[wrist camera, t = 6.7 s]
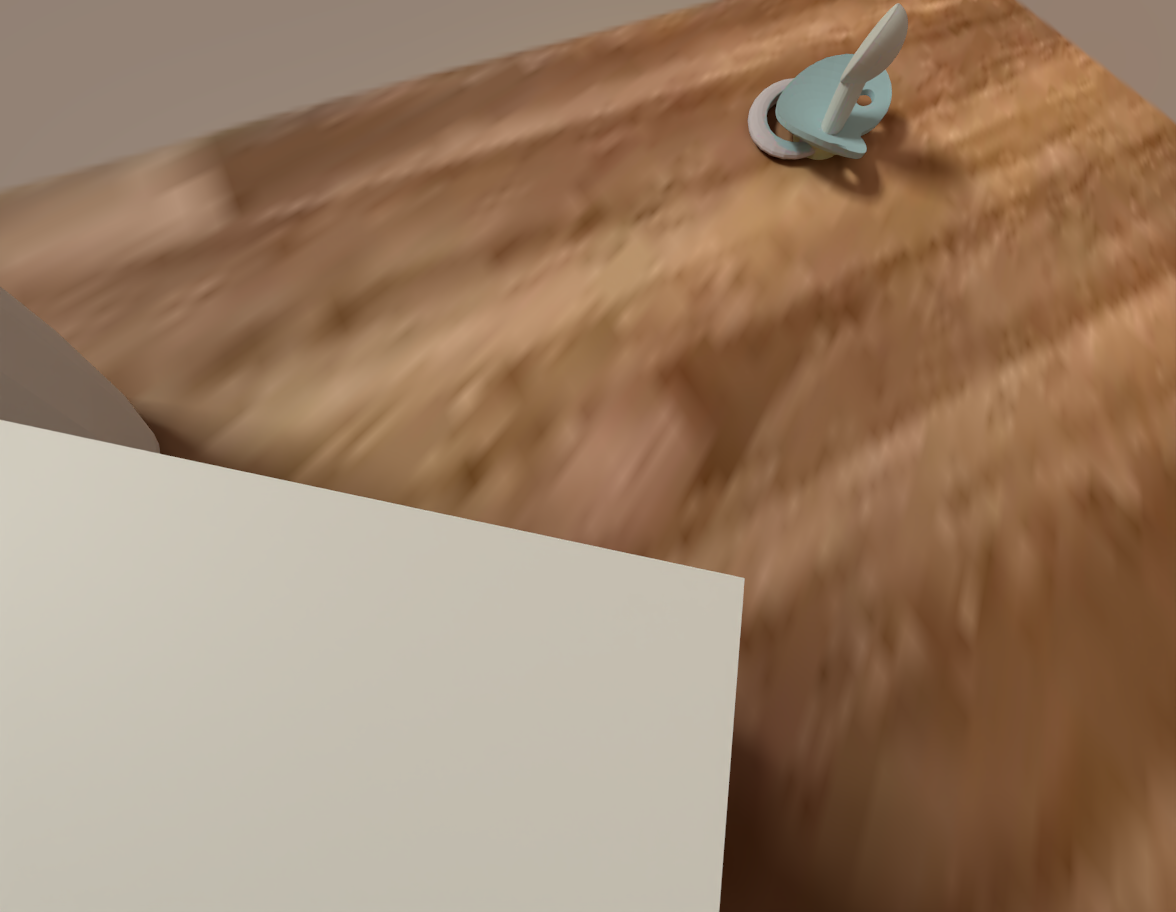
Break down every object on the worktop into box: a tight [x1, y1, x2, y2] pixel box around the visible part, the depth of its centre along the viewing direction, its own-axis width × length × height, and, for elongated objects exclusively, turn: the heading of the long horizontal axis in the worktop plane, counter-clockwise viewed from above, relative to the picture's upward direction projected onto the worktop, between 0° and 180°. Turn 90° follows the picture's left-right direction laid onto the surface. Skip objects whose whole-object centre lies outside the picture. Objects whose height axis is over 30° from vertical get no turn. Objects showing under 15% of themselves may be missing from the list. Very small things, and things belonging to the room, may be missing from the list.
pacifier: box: [748, 4, 908, 160], centre depth 29 cm, size 7×6×6 cm
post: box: [0, 420, 745, 912], centre depth 8 cm, size 6×6×11 cm
